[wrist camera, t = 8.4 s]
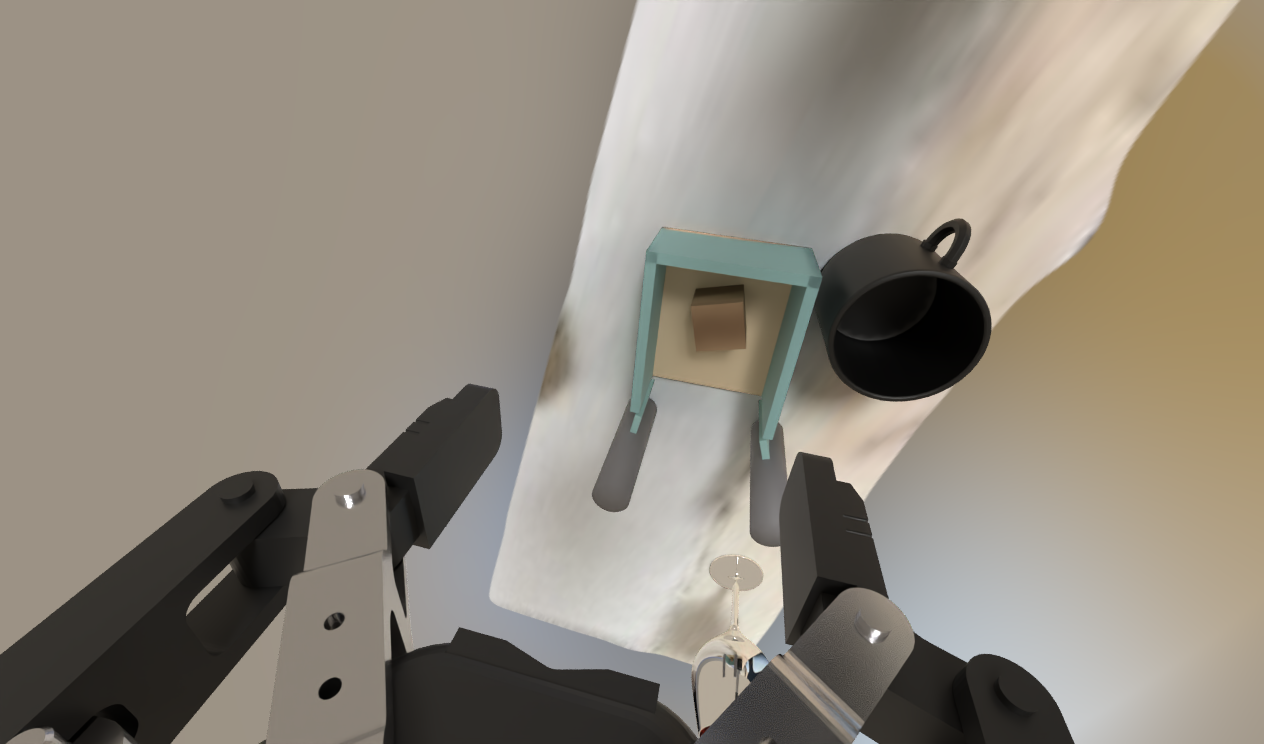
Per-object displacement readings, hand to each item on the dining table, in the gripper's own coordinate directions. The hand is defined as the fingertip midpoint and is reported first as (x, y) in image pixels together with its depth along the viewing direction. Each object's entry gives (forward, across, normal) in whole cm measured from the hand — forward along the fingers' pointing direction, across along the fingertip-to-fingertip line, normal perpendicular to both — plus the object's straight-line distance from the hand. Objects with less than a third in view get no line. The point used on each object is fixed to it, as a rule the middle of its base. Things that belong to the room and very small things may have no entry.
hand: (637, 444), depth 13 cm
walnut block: (+29, -2, +8) cm, 30 cm away
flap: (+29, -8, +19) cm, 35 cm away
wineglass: (+30, -10, +42) cm, 53 cm away
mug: (+30, -14, +4) cm, 33 cm away
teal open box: (+30, -2, +9) cm, 31 cm away
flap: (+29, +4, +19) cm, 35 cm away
